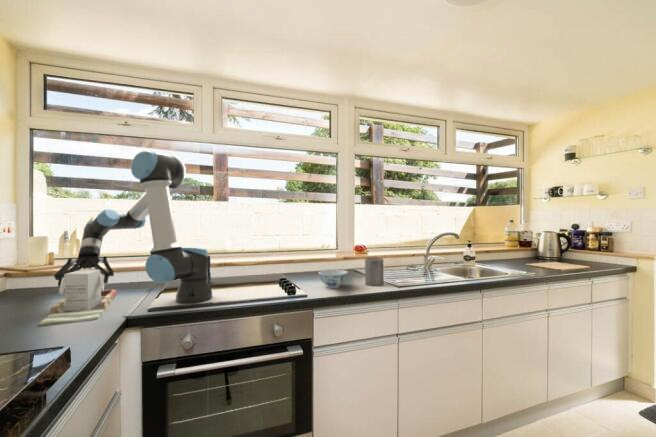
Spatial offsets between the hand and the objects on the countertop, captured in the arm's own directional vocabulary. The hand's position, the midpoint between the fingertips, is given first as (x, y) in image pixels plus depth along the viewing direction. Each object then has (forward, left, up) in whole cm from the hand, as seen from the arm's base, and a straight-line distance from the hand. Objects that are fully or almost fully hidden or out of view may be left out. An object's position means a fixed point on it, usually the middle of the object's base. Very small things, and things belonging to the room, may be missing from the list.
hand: (81, 291), depth 132 cm
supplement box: (+1, -1, -7) cm, 8 cm away
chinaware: (-63, -89, -7) cm, 109 cm away
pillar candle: (-78, -106, -7) cm, 132 cm away
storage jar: (+1, -55, -7) cm, 55 cm away
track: (+1, -1, -7) cm, 7 cm away
